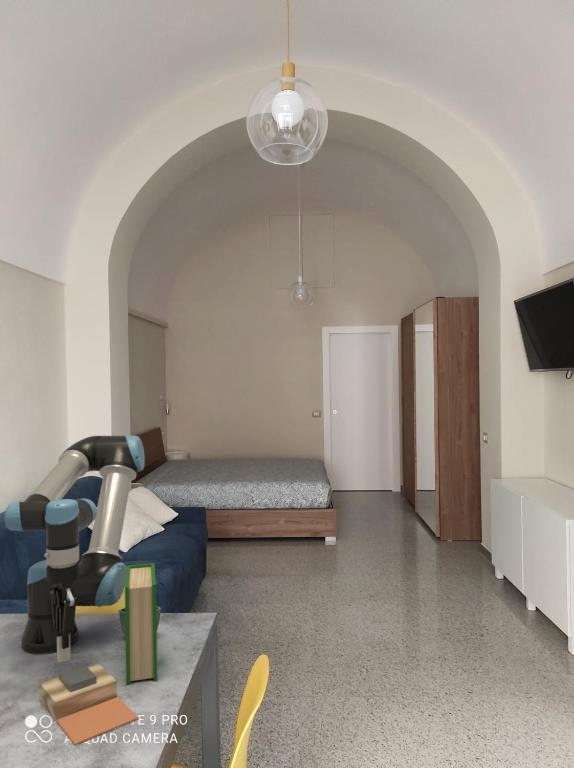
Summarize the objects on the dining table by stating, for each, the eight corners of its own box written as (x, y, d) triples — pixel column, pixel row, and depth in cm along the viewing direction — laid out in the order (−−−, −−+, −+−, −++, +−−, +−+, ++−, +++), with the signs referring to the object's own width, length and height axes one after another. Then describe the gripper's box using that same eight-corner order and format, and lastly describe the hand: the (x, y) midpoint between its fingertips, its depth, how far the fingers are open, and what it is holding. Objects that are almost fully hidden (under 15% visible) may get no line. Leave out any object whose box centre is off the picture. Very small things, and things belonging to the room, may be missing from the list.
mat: (56, 721, 125) (56, 720, 125) (117, 698, 134) (117, 696, 134) (74, 745, 117) (74, 743, 117) (138, 719, 126) (138, 717, 126)
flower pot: (143, 630, 171) (143, 600, 171) (162, 638, 166) (161, 607, 166) (118, 641, 165) (117, 609, 165) (136, 649, 159) (136, 617, 159)
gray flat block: (58, 678, 136) (58, 672, 136) (83, 670, 140) (83, 663, 140) (70, 692, 130) (70, 685, 130) (96, 683, 134) (96, 676, 134)
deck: (39, 700, 134) (39, 683, 134) (98, 679, 143) (98, 663, 143) (55, 720, 126) (55, 702, 126) (116, 697, 135) (116, 680, 135)
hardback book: (157, 681, 142) (155, 584, 142) (126, 685, 140) (124, 587, 140) (155, 649, 159) (154, 563, 159) (127, 653, 157) (126, 565, 157)
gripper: (38, 561, 144) (39, 655, 144) (56, 573, 134) (57, 674, 134) (68, 555, 149) (69, 646, 149) (87, 566, 139) (88, 664, 139)
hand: (63, 659), depth 141 cm, fingers closed
